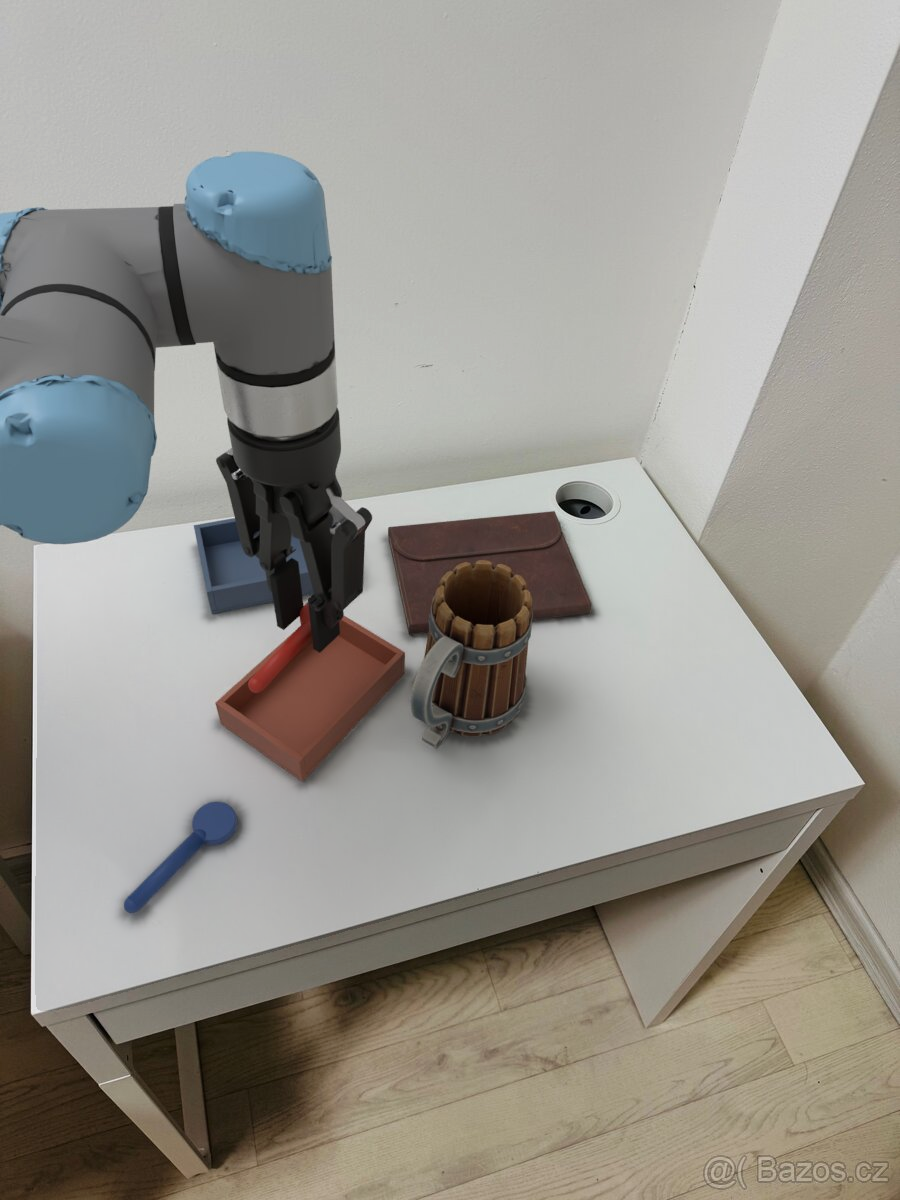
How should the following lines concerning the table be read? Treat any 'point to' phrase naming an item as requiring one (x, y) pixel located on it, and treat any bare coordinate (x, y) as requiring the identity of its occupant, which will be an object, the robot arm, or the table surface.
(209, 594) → the blue bin
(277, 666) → the red spoon
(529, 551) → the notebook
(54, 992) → the table surface
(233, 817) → the blue spoon
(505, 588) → the mug
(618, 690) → the table surface
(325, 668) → the red bin
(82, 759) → the table surface
